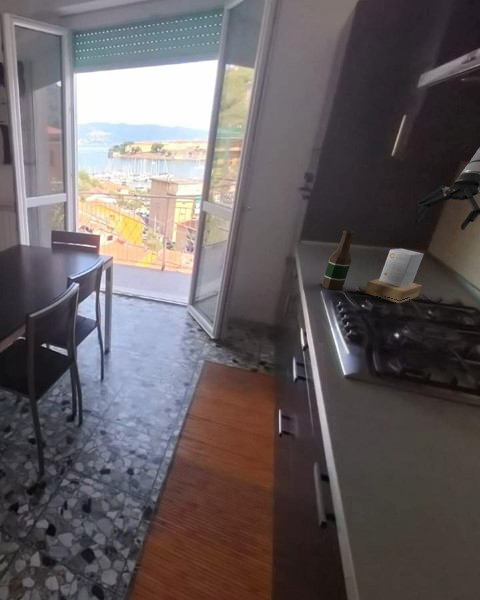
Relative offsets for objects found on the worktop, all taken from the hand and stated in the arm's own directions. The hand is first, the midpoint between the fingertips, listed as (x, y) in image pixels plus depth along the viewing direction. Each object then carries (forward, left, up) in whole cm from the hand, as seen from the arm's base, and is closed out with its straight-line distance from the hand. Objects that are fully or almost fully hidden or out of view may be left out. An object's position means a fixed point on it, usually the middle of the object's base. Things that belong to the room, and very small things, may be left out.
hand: (438, 224), depth 135 cm
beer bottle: (+10, +28, -28) cm, 41 cm away
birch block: (-2, +12, -27) cm, 30 cm away
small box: (-2, +12, -23) cm, 26 cm away
